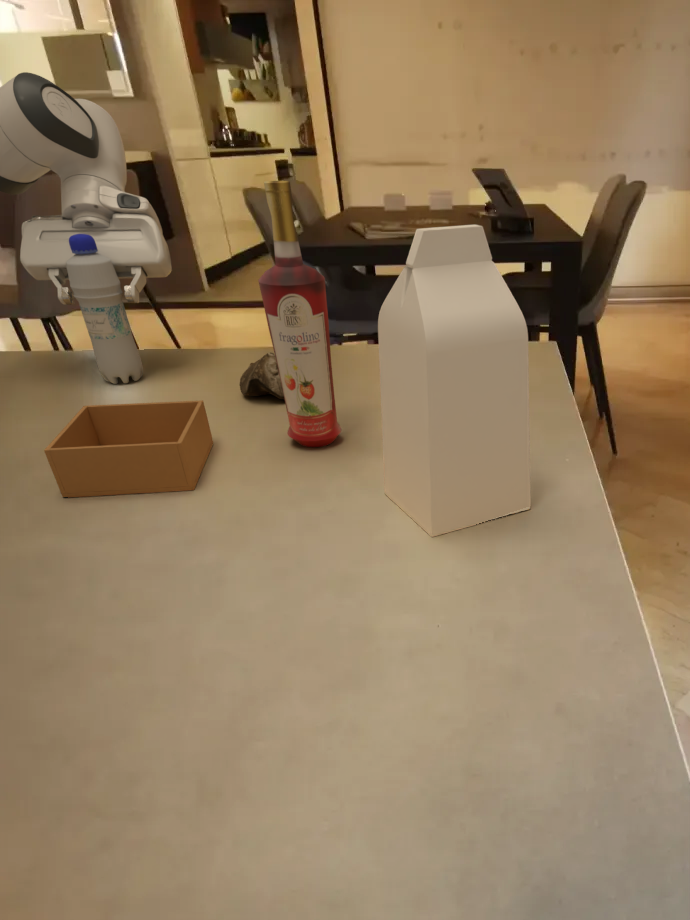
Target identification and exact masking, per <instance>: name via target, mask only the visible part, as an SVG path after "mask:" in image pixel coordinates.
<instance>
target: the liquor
mask: <svg viewBox="0 0 690 920" xmlns="http://www.w3.org/2000/svg"><path fill="white" fill-rule="evenodd" d="M263 185H264V192H265V197H266V202H267V206H268V209H269V213H270V217H271V227H272V236H273V237H272V240H273V250H274V261H275V262H274V263H275V265H273V266H271V267H269V268H268V269H266V270H265V271H264V273H262V275H261V276H260V277H259V279H257V281H258V285H259V290H260V294H261V299H262V304H263V308H264V313H265V319H266V322H267V328H268V332H269V336H270V340H271V345H272V348H273V353H274V354H275V357H276V361H277V366H278V370H279V375H280V380H281V385H282V389H283V394H284V399H283V400H284V404H285V409H286V414H287V419H288V423H289V427H288V429H287V432H286V434H287V436H288V437H289V438H291V439H292V440H293V441H295V442H296V443H298V444H299V445H300V446H302V447H306V448H322V447H326V446H328V445H330V444H332V443H334V441H335V440H336V439H337V438H338V436H339V435H340V434H341V432H342V430H343V429H342V427H341V425H340V424H339V422H338V416H337V407H336V398H335V389H334V388H335V387H334V378H333V377H334V376H333V366H332V354H331V353H332V351H331V337H330V336H331V335H330V324H329V313H328V311H329V310H328V302H327V292H326V290H327V289H326V280H325V279H326V278H325V276H324V275H322V273H320V272H319V271H318V270H317V269H316V268H313V267H312V266H309V265H307V264H305V263H304V261H303V257H302V252H301V248H300V243H299V237H298V235H297V229H296V225H295V221H294V214H293V212H294V211H293V206H294V205H293V202H294V200H293V193H292V187H291V181H290V180H267V181H263Z"/></svg>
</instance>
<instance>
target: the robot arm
mask: <svg viewBox="0 0 690 920" xmlns="http://www.w3.org/2000/svg"><path fill="white" fill-rule="evenodd" d="M125 151H126V150H125V146H124V141H123V138H122V135H121V132H120V130H119V127H118V125H117V123H116V121H115V119H114V118H113V117H112V116H111V114H110V113H109V112H108V111H107V110H106V109H105V108H103V107H102V106H101V105H99V104H97V103H95V102H94V101H91V100H89V99H85V98H74V97H73V96H72V95H70V94H69V93H68V92H66V91H65V89H62V88H61V87H60V86H59V85H57V84H56V83H54V82H52V81H50V80H49V79H47V78H45V77H43V76H41V75H39V74H37V73H32V72H27V71H26V72H25V71H24V72H20V73H18V74H16V75H15V76H13V77H12V78H10V79H9V80H8V81H6V82H5V83H4V84H3V85H1V86H0V192H2V193H4V194H7V195H13V196H14V195H22V194H24V193H25V192H26V191H27V190H28V189H30V188H31V187H32V186H33V185H34V184H35V183H36V182H37V181H38V180H39V179H40V178H41V177H42V176H44V175H45V174H47V173H48V172H50V171H52V172H53V173H55V174H56V175H57V176H58V177H59V179H60V199H61V203H60V204H61V214H55V215H54V214H52V215H32V216H31V218H29V219H27V220H25V221H24V222H22V223H21V243H20V251H19V252H20V253H19V254H20V255H19V261H20V263H21V265H22V267H23V268H24V269H25V270H26V272H27V273H28V274H29V275H30V276H31V277H33V279H35V280H36V281H51V282H52V283H53V284H54V286H55V287H56V289H57V299H58V301H59V302H60V304H61V305H64V306H65V305H66V306H67V305H69V306H70V305H74V304H75V301H74V299H75V297H74V293H73V291H72V290H71V288H69V287H68V286H65V285H66V283H67V280H69V276H68V271H67V266H66V262H67V260H69V259H70V258H71V257H73V256H74V255H75V254H74V253H72V251H71V248H70V245H69V238H70V237H71V236H72V235H75V234H87V235H90V236H92V237H93V239H94V240H95V243H96V246H97V250H98V252H96V253H98V254H100V255H103V256H105V257H107V258H109V259H110V260H111V262H112V264H113V267H114V269H115V271H116V274H117V276H118V279H132V280H131V282H130V284H129V285H123V291H124V298H125V300H126V301H127V303H128V304H139V303H140V293H141V292H142V290H143V289H144V288H145V286H146V284H147V279H148V278H153V279H154V278H155V279H156V278H167V277H168V276H169V275H170V274H171V273H172V271H173V269H172V268H173V267H172V258H171V254H170V253H171V252H170V250H169V245H168V243H167V241H166V239H165V237H164V234H163V232H164V231H163V228H162V225H161V222H160V219H159V217H158V215H157V213H156V210H155V209H154V207H153V206H152V204H151V203H150V202H149V200H148V199H147V198H146V197H144V196H140V195H136V194H132V193H129V192H126V191H125V189H126V186H127V182H128V173H127V160H126V158H127V157H126V152H125Z"/></svg>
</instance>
